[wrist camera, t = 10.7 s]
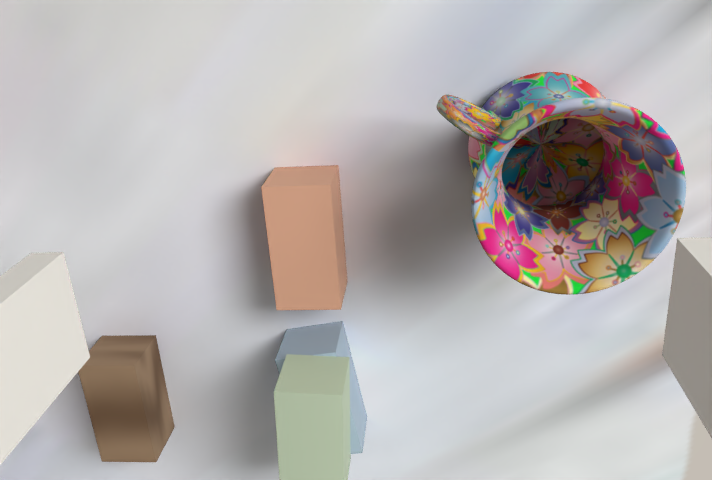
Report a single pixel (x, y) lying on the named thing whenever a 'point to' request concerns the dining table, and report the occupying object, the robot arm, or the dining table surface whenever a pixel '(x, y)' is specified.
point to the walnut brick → (127, 398)
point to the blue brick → (329, 343)
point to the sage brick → (313, 418)
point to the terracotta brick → (305, 237)
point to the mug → (568, 183)
